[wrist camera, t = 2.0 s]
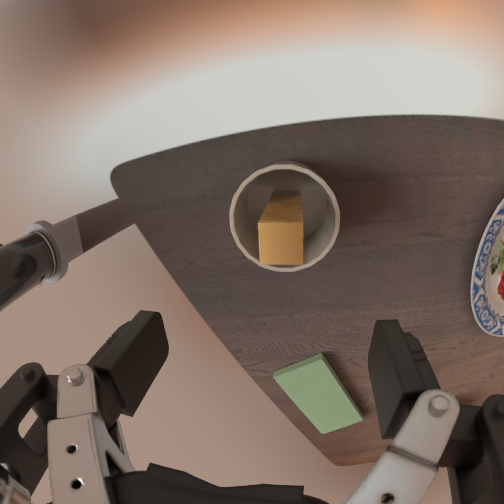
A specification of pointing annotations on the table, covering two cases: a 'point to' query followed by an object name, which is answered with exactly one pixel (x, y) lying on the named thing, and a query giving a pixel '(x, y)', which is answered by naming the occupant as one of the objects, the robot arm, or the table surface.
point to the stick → (282, 230)
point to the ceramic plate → (490, 276)
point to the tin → (313, 209)
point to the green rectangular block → (319, 393)
